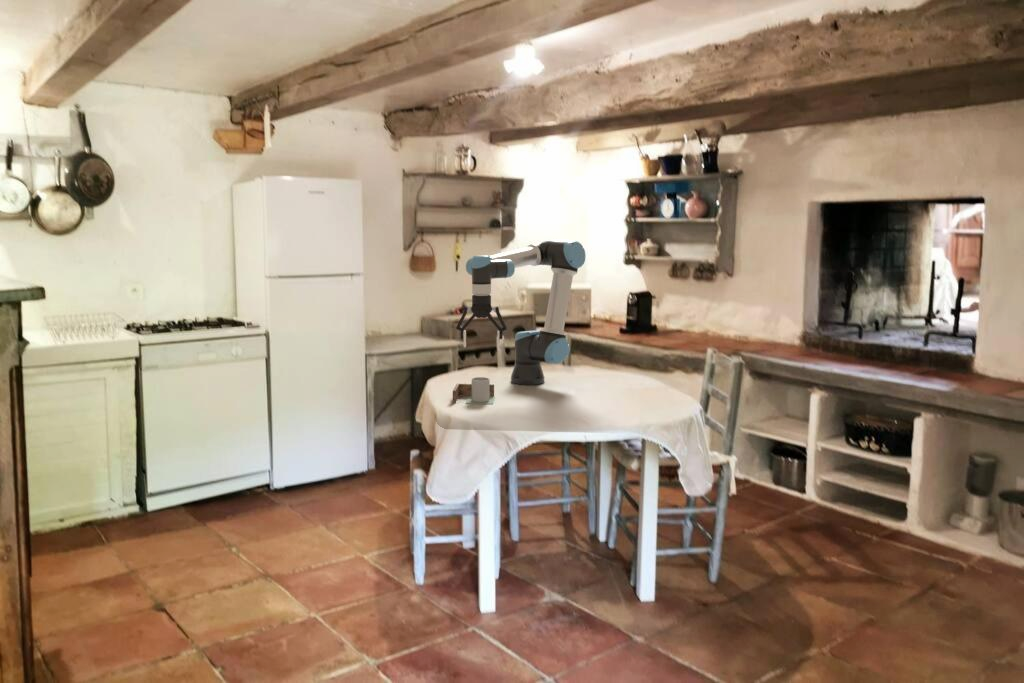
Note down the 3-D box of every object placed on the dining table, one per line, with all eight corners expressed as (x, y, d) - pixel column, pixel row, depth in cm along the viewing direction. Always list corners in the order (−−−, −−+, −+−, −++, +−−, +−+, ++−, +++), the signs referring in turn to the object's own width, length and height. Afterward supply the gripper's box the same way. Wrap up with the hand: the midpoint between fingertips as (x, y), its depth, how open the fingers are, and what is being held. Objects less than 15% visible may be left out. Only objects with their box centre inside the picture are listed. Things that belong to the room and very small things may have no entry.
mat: (495, 397, 327) (494, 396, 327) (492, 404, 315) (492, 403, 315) (468, 396, 327) (468, 396, 327) (465, 403, 315) (465, 403, 315)
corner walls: (494, 396, 329) (494, 384, 328) (491, 403, 315) (491, 391, 315) (456, 395, 330) (456, 383, 329) (452, 403, 316) (452, 390, 315)
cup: (474, 403, 315) (474, 381, 314) (467, 397, 324) (467, 376, 323) (491, 402, 318) (492, 380, 316) (483, 396, 327) (484, 375, 326)
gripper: (513, 293, 319) (513, 345, 322) (451, 293, 320) (451, 345, 323) (512, 295, 311) (512, 349, 315) (449, 295, 312) (449, 348, 316)
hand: (481, 347), depth 319 cm, fingers open, 13 cm apart
